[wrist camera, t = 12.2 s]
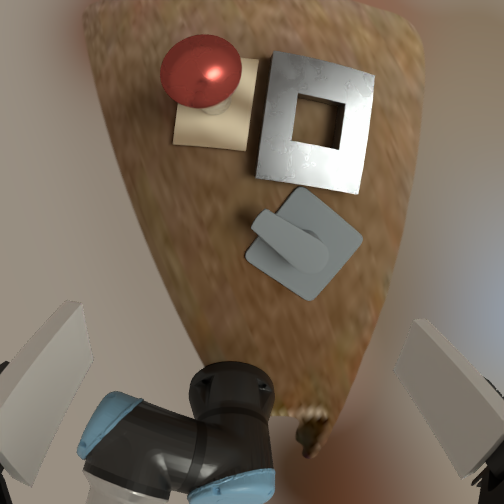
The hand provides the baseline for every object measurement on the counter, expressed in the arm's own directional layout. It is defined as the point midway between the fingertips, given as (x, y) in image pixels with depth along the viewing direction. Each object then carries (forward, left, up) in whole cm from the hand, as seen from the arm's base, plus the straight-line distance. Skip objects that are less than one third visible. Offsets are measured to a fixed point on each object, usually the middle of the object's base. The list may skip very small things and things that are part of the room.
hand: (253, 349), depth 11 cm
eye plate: (+12, -8, -29) cm, 33 cm away
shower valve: (-4, -8, -30) cm, 31 cm away
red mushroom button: (+13, +5, -28) cm, 31 cm away
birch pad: (+13, +5, -29) cm, 32 cm away
